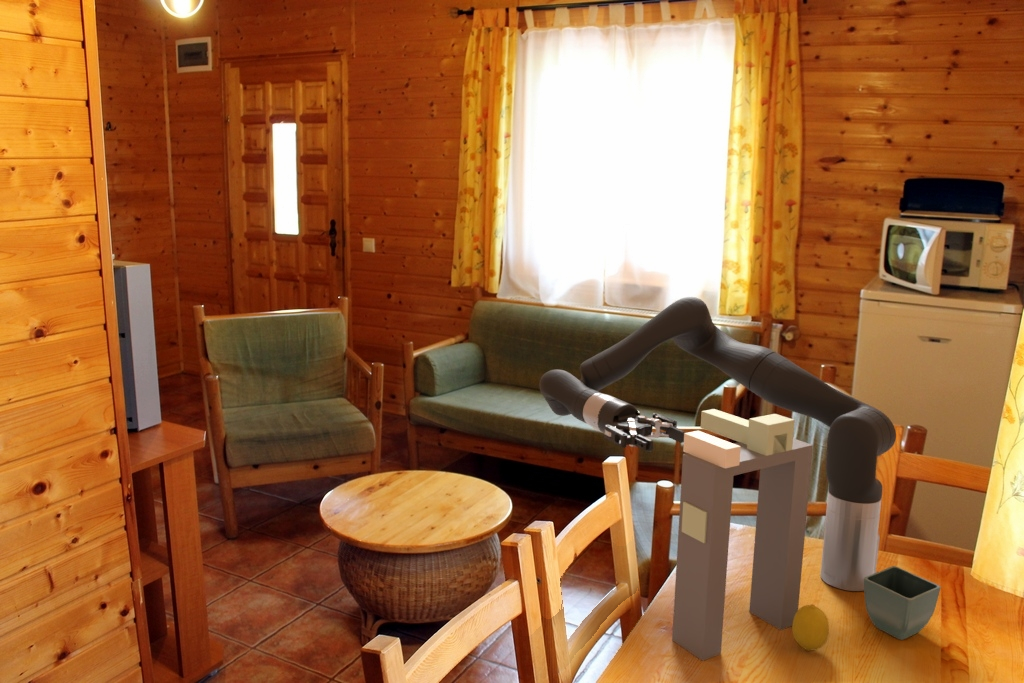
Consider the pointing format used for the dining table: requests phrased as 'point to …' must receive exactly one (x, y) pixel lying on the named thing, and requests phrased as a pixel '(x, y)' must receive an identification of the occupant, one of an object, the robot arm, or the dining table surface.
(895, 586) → the flower pot
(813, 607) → the lemon
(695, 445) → the cream bar
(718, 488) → the grey arch
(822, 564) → the robot arm
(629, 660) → the dining table surface
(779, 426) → the pale yellow block
